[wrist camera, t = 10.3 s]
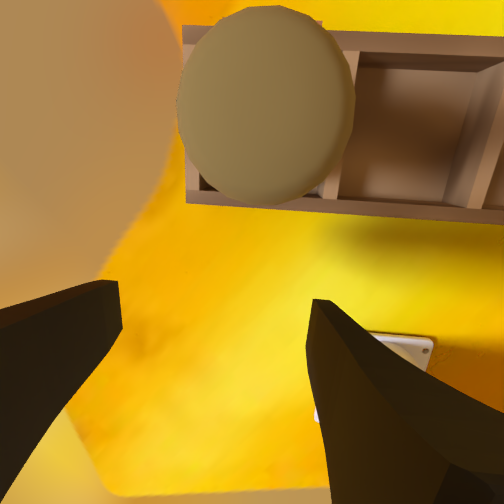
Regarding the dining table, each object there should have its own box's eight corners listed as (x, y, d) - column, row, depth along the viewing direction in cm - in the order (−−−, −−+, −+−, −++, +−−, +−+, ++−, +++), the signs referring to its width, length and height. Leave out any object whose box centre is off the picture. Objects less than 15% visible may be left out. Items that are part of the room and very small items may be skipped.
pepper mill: (292, 63, 16) (331, -127, 5) (333, 161, 17) (425, 164, 7) (202, 118, 17) (92, 51, 7) (248, 205, 18) (217, 263, 8)
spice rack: (570, 221, 18) (626, 233, 15) (198, 196, 19) (186, 203, 16) (644, 53, 15) (731, 28, 12) (197, 36, 16) (181, 10, 13)
